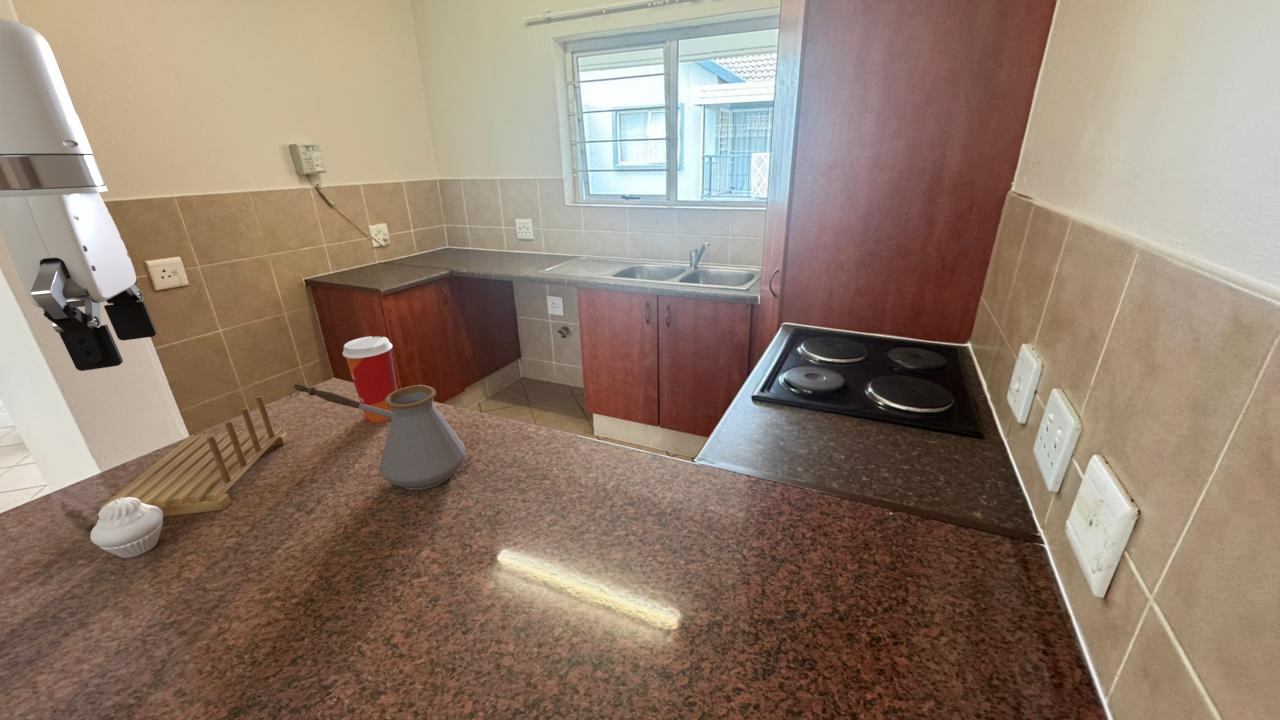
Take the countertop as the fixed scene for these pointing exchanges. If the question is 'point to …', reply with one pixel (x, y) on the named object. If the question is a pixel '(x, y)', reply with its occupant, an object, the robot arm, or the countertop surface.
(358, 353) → the paper cup
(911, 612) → the countertop surface
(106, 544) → the muffin
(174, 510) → the rack
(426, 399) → the coffee pot
